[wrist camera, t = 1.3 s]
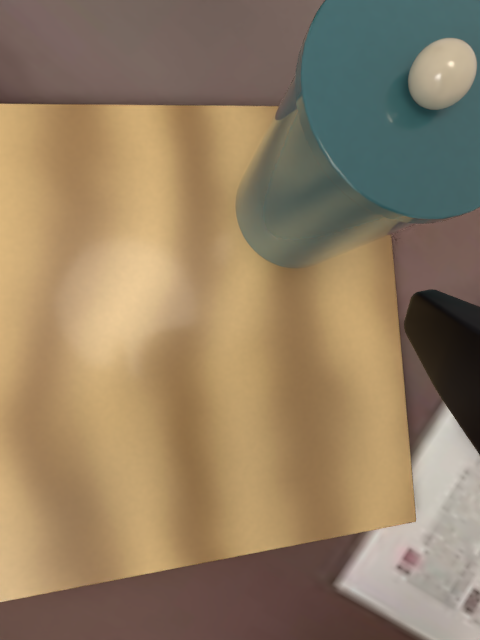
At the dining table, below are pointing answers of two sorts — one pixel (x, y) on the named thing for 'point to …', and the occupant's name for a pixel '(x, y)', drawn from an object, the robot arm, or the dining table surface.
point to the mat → (178, 357)
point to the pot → (368, 131)
